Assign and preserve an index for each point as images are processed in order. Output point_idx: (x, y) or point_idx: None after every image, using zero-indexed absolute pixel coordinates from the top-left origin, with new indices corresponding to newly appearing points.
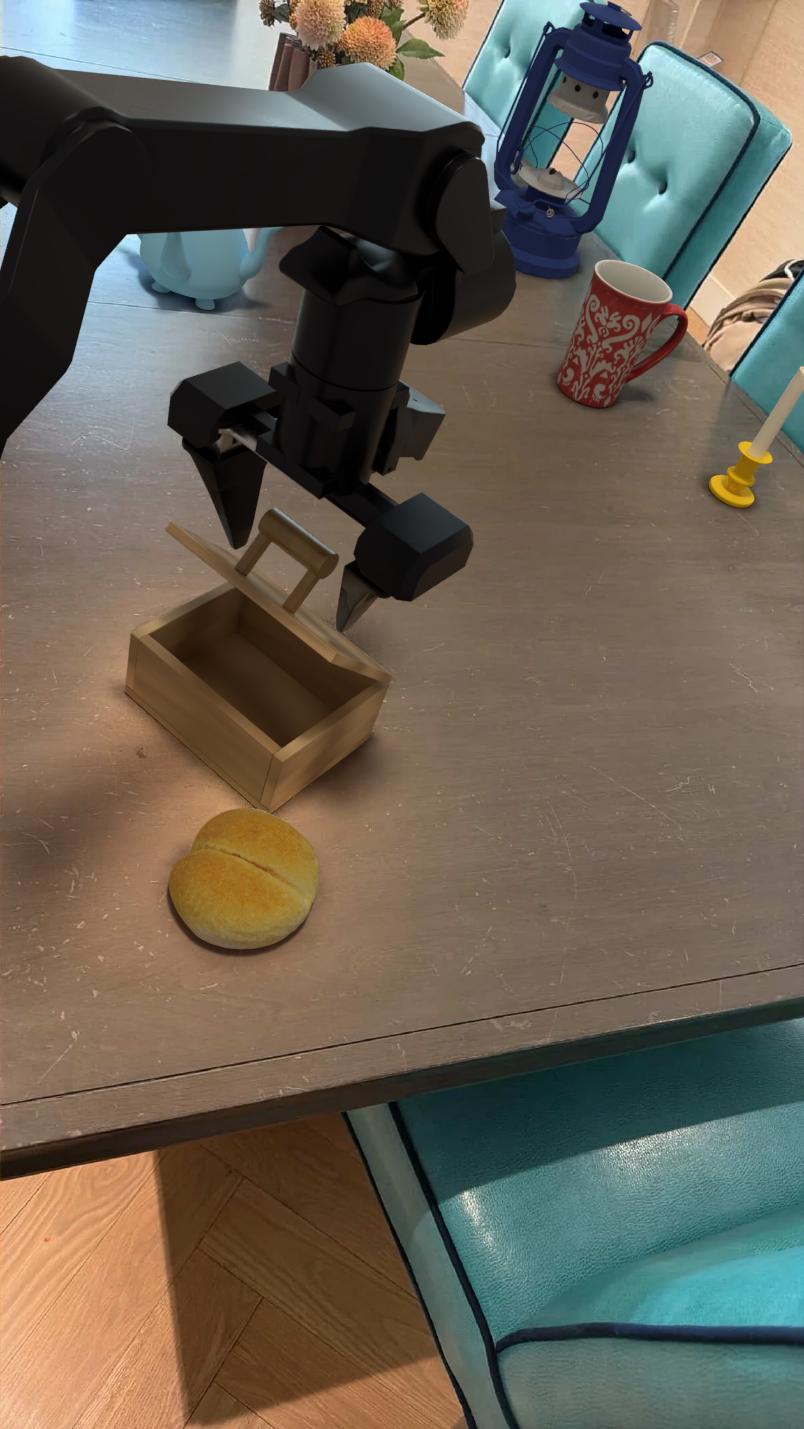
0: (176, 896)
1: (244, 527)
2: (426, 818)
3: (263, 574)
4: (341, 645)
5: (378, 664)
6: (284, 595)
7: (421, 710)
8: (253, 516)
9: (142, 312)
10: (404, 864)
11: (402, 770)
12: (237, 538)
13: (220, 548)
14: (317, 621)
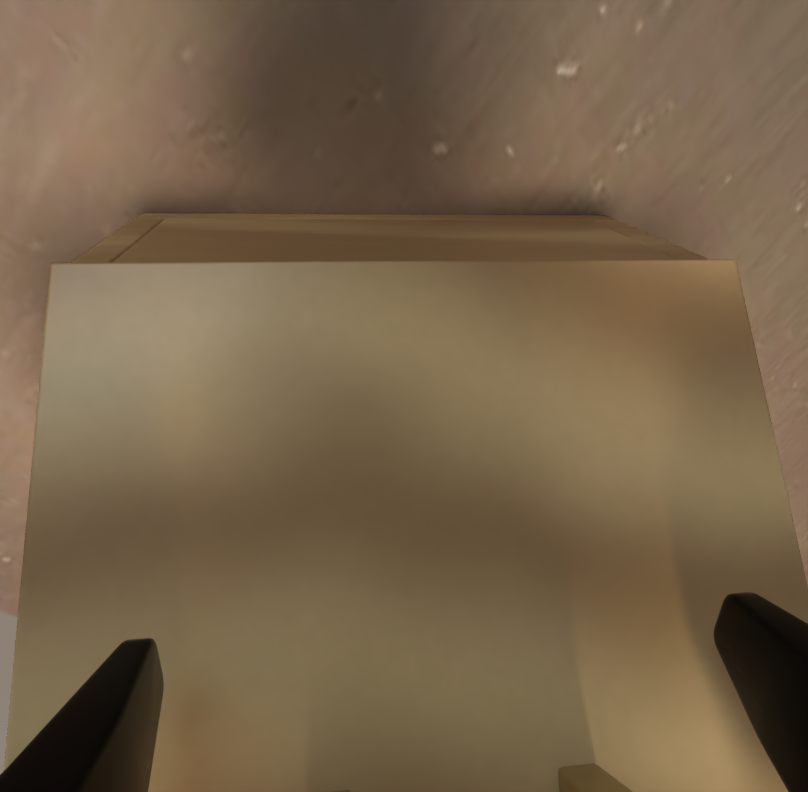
0: None
1: (128, 769)
2: (797, 282)
3: (152, 310)
4: (703, 569)
5: (686, 281)
6: (347, 441)
7: (665, 6)
8: (99, 775)
9: None
10: (795, 391)
11: (707, 223)
12: (150, 747)
13: (60, 579)
14: (506, 430)
